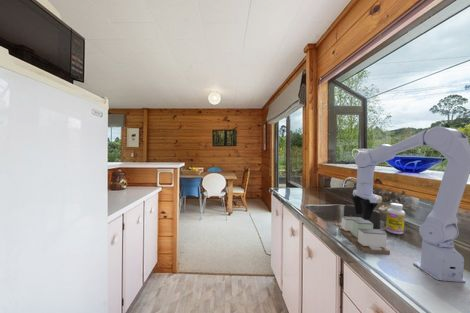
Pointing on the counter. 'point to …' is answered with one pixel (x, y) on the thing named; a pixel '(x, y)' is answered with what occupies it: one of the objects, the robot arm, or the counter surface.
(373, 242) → the mounted modules
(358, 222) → the block
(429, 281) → the counter surface
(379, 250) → the rail board
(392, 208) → the supplement bottle
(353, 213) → the leaning round-cornered charcoal block
